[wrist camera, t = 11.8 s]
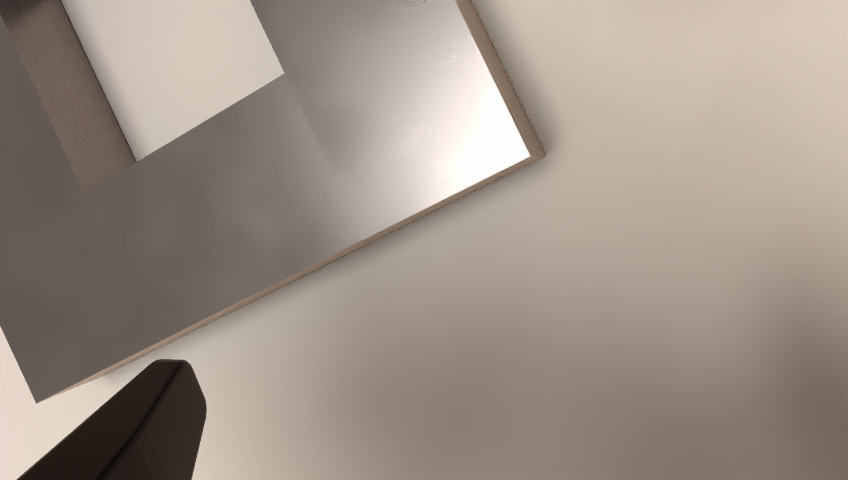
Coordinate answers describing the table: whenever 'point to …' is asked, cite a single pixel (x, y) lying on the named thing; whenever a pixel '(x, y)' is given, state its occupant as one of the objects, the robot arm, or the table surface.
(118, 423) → the robot arm
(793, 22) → the table surface
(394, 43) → the post plate
